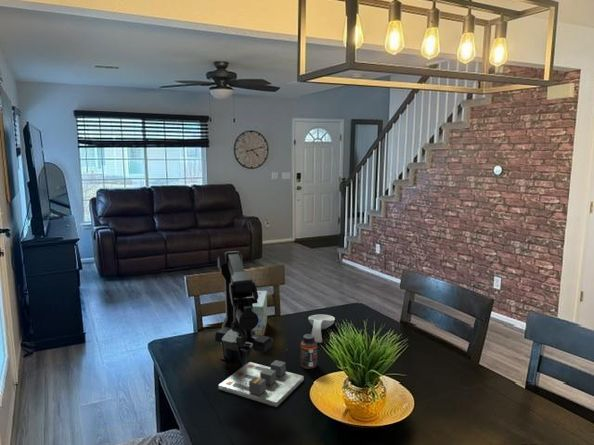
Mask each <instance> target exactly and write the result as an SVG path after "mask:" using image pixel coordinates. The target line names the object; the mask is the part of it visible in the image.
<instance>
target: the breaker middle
mask: <svg viewBox="0 0 594 445" xmlns="http://www.w3.org/2000/svg"><path fill="white" fill-rule="evenodd" d="M260 378H262V379H265V380H266V384H267V385H270V386H271V385H272V384H273V383H274V382H275V381H276V371H275V370H271V369H267V368H265V369H264V370H263V371H262V372H260Z"/></svg>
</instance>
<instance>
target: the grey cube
mask: <svg viewBox="0 0 594 445" xmlns="http://www.w3.org/2000/svg"><path fill="white" fill-rule="evenodd" d="M265 390H266V380H265V379H262V378H260V377H259V378H258V377H254V378H253V379H252V380H251V381H249V392H251V393H254V394H257V395H261V394H262V393H263V392H264V391H265Z"/></svg>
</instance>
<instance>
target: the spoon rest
mask: <svg viewBox="0 0 594 445" xmlns="http://www.w3.org/2000/svg"><path fill="white" fill-rule="evenodd" d="M335 320H336V318H335V317H334V316H332V315H330V314H313V315H310V316H308V321H309V323H310V324H311V325H312V329H311V334H312V335H314V337H315V341H316V342H317V344H318V343H320V344H321V343H323V337H322V330H326V329H328V328H329V327H331V326H332V325H333V324H334V323H335Z"/></svg>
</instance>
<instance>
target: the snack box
mask: <svg viewBox="0 0 594 445" xmlns="http://www.w3.org/2000/svg"><path fill="white" fill-rule="evenodd" d="M257 292H258V299H257V303H255V304H253V309H254V311H255V312H256V314H257V316H258V319H259V321H258V324H257V326H256V327H255V328H254V329H252V331H255V334H254V335H253V336H252V337H256V338H258V337H260V336H261V335H263V336H265V332H266V328H267V324H268V290H257Z"/></svg>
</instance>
